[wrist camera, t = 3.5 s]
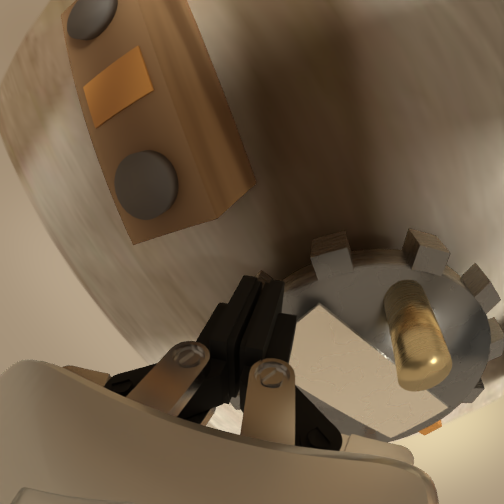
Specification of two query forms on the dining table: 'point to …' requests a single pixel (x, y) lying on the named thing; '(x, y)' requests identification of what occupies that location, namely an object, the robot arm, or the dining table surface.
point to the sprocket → (388, 334)
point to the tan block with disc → (155, 113)
